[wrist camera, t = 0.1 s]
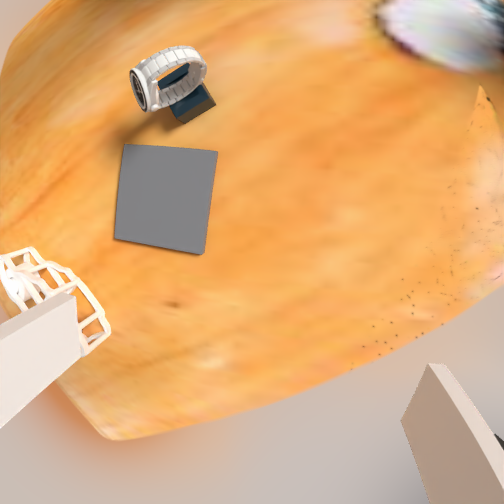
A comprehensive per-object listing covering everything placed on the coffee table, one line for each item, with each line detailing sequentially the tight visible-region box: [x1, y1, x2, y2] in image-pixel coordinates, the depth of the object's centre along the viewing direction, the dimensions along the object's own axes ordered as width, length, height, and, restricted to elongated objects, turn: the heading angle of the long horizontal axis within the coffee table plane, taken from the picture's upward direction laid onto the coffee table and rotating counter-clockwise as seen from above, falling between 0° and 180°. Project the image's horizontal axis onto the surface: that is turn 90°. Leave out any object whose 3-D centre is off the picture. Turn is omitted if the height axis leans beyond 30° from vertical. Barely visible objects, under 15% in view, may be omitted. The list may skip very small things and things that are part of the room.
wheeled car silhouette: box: [0, 247, 111, 357], centre depth 38 cm, size 20×11×7 cm, turn 41°
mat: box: [115, 144, 218, 255], centre depth 36 cm, size 12×12×1 cm
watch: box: [130, 46, 216, 124], centre depth 28 cm, size 6×8×11 cm
